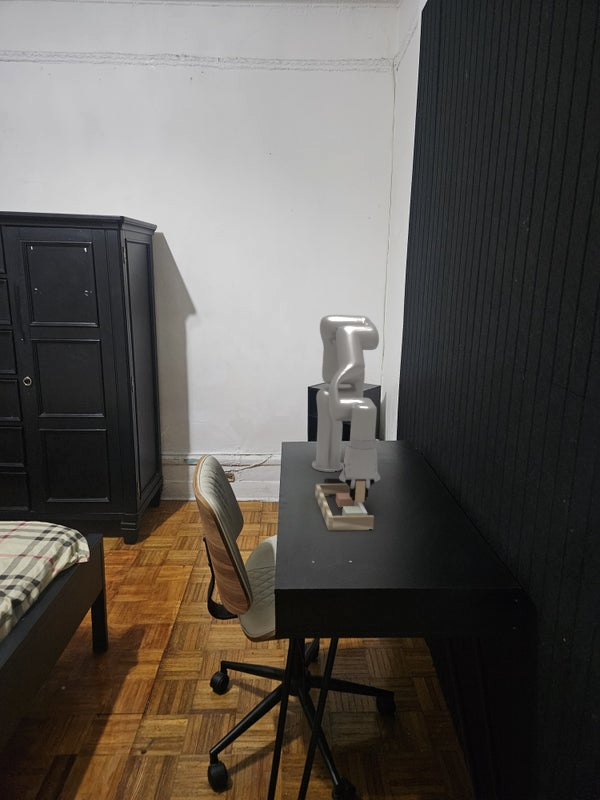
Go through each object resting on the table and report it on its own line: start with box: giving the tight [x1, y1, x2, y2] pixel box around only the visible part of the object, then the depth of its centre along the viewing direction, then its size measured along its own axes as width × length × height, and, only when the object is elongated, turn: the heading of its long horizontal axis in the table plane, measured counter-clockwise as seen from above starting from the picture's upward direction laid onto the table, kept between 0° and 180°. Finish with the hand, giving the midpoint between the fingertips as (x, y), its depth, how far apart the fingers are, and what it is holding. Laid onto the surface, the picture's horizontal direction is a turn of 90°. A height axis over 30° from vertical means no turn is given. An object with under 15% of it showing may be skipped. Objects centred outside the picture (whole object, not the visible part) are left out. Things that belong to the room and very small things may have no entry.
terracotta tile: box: [335, 493, 354, 508], centre depth 173 cm, size 5×5×3 cm
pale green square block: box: [341, 506, 362, 516], centre depth 163 cm, size 5×5×3 cm
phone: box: [323, 478, 346, 497], centre depth 187 cm, size 8×1×15 cm
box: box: [314, 483, 375, 531], centre depth 168 cm, size 26×13×4 cm, turn 7°
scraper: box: [354, 479, 368, 515], centre depth 168 cm, size 18×3×10 cm, turn 7°
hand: (358, 498), depth 168 cm, fingers closed on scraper, 3 cm apart
